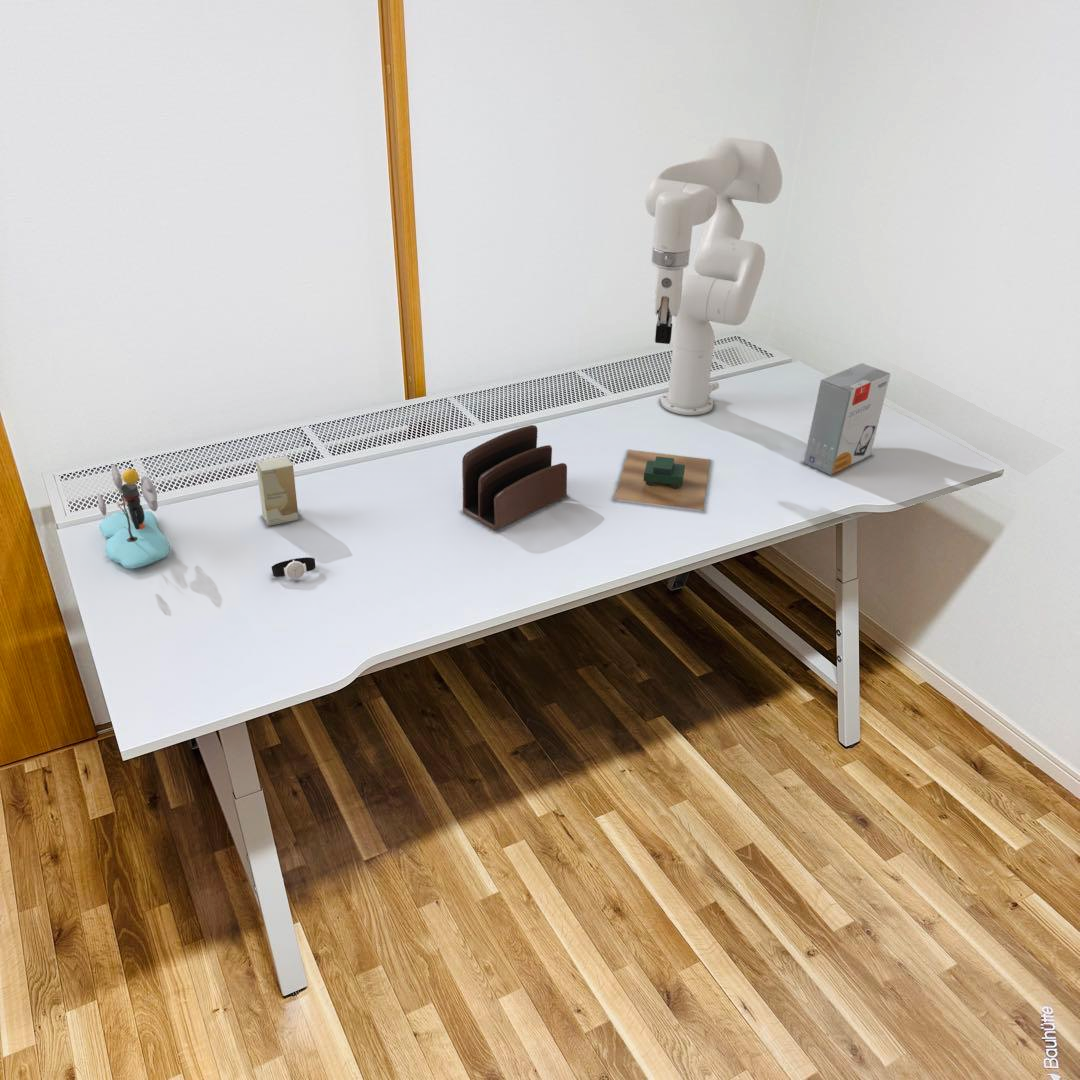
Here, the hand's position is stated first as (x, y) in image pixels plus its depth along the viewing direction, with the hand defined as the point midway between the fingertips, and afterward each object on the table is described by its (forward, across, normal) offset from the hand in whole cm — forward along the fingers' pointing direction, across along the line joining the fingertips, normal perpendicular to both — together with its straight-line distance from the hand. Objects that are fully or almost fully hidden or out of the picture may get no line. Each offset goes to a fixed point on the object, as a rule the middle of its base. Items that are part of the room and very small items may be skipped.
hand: (662, 341), depth 209 cm
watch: (+23, -66, +58) cm, 91 cm away
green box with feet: (+22, -15, -4) cm, 26 cm away
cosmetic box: (+23, -49, +68) cm, 87 cm away
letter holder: (+24, -33, +24) cm, 48 cm away
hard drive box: (+25, +2, -41) cm, 48 cm away
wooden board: (+24, -16, -4) cm, 29 cm away
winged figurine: (+23, -64, +90) cm, 113 cm away
